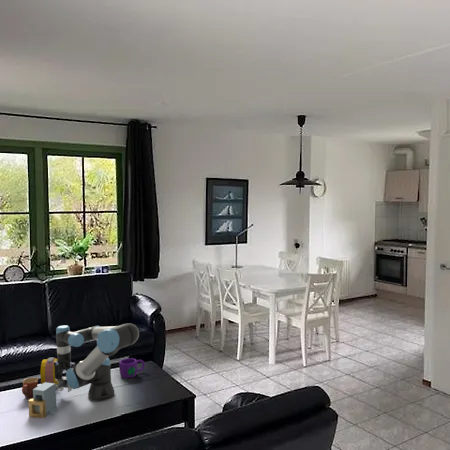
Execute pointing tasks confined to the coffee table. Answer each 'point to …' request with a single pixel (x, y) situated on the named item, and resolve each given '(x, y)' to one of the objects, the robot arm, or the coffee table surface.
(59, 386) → the shaft
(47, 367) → the alarm clock
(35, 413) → the frame
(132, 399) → the coffee table surface
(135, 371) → the mug
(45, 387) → the pillow block
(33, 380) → the mug
